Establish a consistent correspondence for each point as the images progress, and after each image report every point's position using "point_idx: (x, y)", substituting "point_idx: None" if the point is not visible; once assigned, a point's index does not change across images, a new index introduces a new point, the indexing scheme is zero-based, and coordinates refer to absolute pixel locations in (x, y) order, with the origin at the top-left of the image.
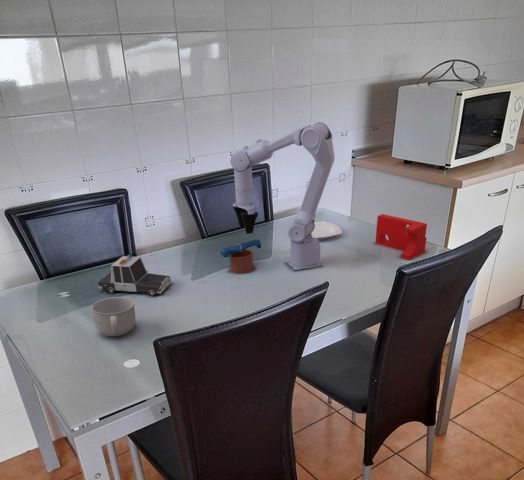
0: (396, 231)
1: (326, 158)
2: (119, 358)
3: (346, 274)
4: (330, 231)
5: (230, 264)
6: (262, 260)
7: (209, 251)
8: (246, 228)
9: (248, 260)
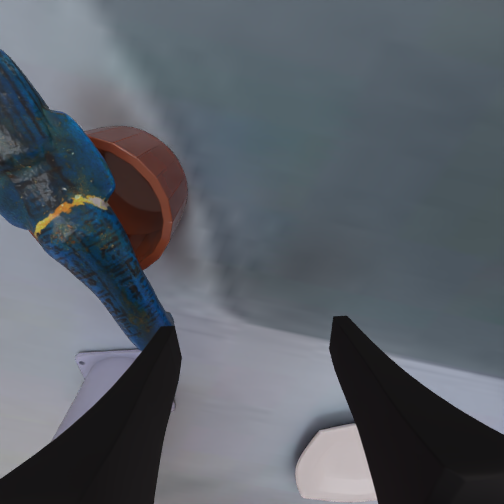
0: None
1: None
2: None
3: (39, 439)
4: (346, 479)
5: (100, 129)
6: (210, 285)
7: (454, 68)
8: (138, 360)
9: None
